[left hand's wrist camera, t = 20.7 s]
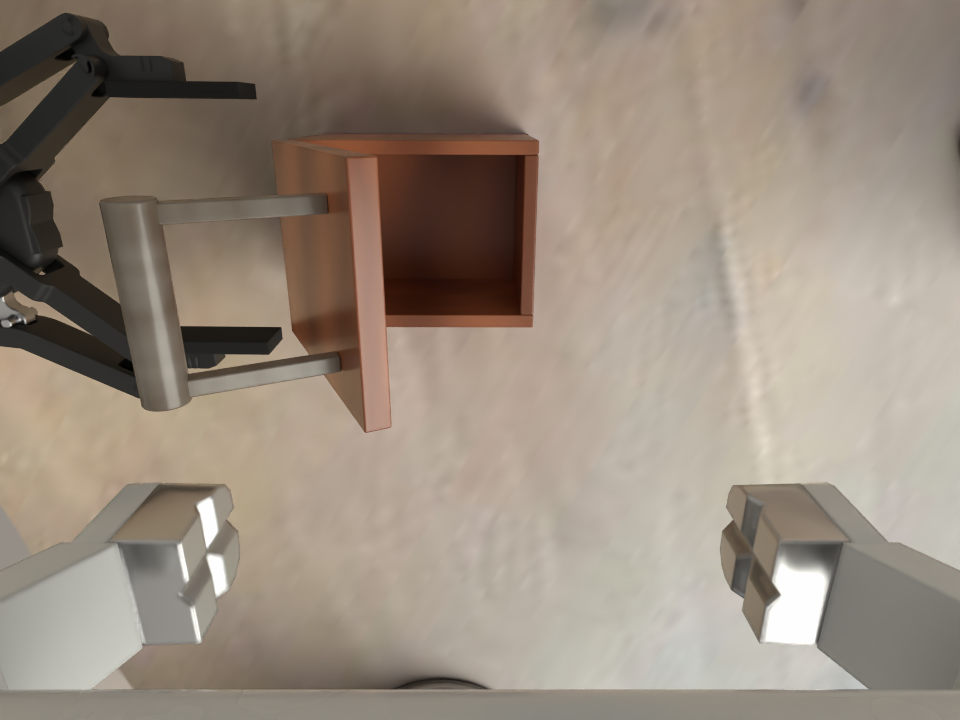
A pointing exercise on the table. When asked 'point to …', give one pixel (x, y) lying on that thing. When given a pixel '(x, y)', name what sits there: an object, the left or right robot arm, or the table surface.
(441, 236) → the chest
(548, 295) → the table surface
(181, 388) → the lid
